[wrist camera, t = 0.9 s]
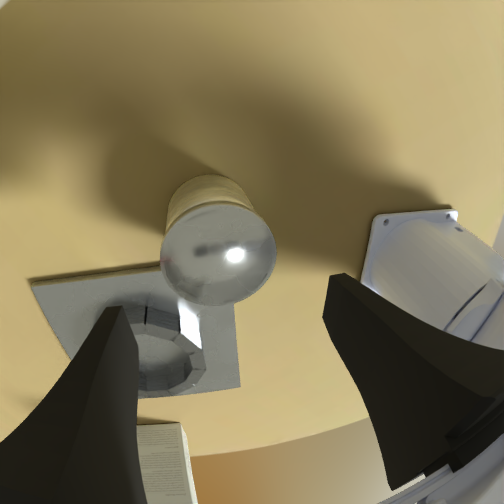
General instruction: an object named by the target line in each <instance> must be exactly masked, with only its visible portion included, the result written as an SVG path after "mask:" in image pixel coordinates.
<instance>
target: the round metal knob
mask: <svg viewBox="0 0 504 504" xmlns="http://www.w3.org/2000/svg"><path fill="white" fill-rule="evenodd" d="M276 255H277V252H276V243H275V240H274V237H273V234H272V233H271V231H270V229H269V227H268V226H267V224H266V222H265V221H264V220H263V218H262V217H261V216H260V215H259V214H258V213H256V211H255V210H254V208H253V206H252V204H251V203H250V201H249V199H248V197H247V196H246V194H245V192H244V191H243V189H242V188H241V187H240V186H239V185H238V184H237V183H235V182H234V181H233V180H231V179H229V178H226V177H224V176H220V175H212V174H210V175H201V176H197V177H194V178H192V179H190V180H188V181H187V182H185V183H184V184H182V185H181V186H180V187H179V188H178V189H177V190H176V191H175V193H174V194H173V196H172V198H171V200H170V203H169V206H168V212H167V222H166V232H165V234H164V237H163V240H162V244H161V251H160V266H161V271H162V274H163V277H164V279H165V281H166V282H167V284H168V285H169V287H170V288H171V289H172V290H173V291H174V292H175V293H176V294H178V295H179V296H180V297H182V298H184V299H185V300H187V301H190V302H192V303H195V304H199V305H204V306H224V305H229V304H233V303H236V302H239V301H241V300H244V299H246V298H247V297H249V296H251V295H252V294H254V293H255V292H256V291H258V290H259V289H260V288H261V287H262V286H263V285H264V284H265V282H266V281H267V280H268V278H269V277H270V275H271V273H272V271H273V268H274V266H275V262H276Z"/></svg>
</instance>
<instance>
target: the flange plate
mask: <svg viewBox="0 0 504 504" xmlns="http://www.w3.org/2000/svg"><path fill="white" fill-rule="evenodd" d="M31 288H32V290H33V292H34V295H35V297H36V299H37V301H38V303H39V305H40V307H41V309H42V310H43V312H44V314H45V316H46V318H47V320H48V322H49V323H50V325H51V327H52V329H53V331H54V332H55V334H56V336H57V338H58V339H59V341H60V343H61V344H62V346H63V348H64V349H65V351H66V352H67V354H68V356H69V357H70V359H71V360H72V359H73V358H74V356H75V355H76V353H77V352H78V350H79V348H80V347H81V345H82V344H83V342H84V341H85V339H86V337H87V336H88V334H89V333H90V331H91V329H92V328H93V326H94V325H95V323H96V322H97V320H98V318H99V317H100V315H101V314H102V312H103V311H104V309H105V308H106V307H111V306H121V305H123V308H124V311H125V313H126V316H127V319H128V321H129V324H130V326H131V329H132V331H133V334H134V336H135V339H136V341H137V344H138V347H139V387H138V399H142V398H157V397H169V396H179V395H188V394H197V393H205V392H212V391H219V390H226V389H232V388H238V387H241V386H240V375H239V364H238V352H237V340H236V328H235V315H234V303H233V304H229V305H224V306H204V305H199V304H195V303H192V302H190V301H187V300H185V299H184V298H182V297H180V296H179V295H178V294H176V293H175V292H174V291H173V290H172V289H171V288H170V287H169V285H168V284H167V282H166V281H165V279H164V277H163V274H162V271H161V266H154V267H147V268H139V269H131V270H123V271H116V272H108V273H100V274H92V275H84V276H76V277H69V278H61V279H53V280H45V281H37V282H34V283H33V284H32V286H31Z"/></svg>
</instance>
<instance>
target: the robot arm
mask: <svg viewBox="0 0 504 504" xmlns="http://www.w3.org/2000/svg"><path fill="white" fill-rule="evenodd" d="M457 216H458V211H457V210H455V209H444V210H430V211H416V212H404V213H392V214H380V215H377V216H376V217H375V218H374V219H373V222H372V228H371V233H370V239H369V244H368V249H367V254H366V258H365V263H364V267H363V272H362V276H361V281H360V282H359V281H357V280H356V279H354V278H352V277H351V276H349V275H347V274H346V273H342V274H336V275H330V277H329V283H328V289H327V295H326V300H325V306H324V311H323V316H322V318H323V320H324V323H325V326H326V328H327V331H328V333H329V336H330V338H331V340H332V342H333V344H334V346H335V348H336V350H337V351H338V353H339V355H340V357H341V359H342V360H343V362H344V364H345V366H346V367H347V369H348V371H349V373H350V375H351V376H352V378H353V380H354V382H355V384H356V385H357V387H358V389H359V391H360V394H361V396H362V398H363V401H364V403H365V406H366V408H367V411H368V413H369V416H370V419H371V421H372V424H373V427H374V430H375V433H376V436H377V440H378V443H379V447H380V450H381V453H382V458H383V461H384V466H385V471H386V475H387V480H388V484H389V486H390V488H391V490H392V491H393V490H395V489H397V488H399V487H401V486H403V485H405V484H407V483H408V482H410V481H412V480H414V479H416V478H417V477H419V476H421V475H423V474H424V475H425V477H426V478H425V479H423V480H421V481H420V482H418V483H416V484H414V485H413V486H411V487H409V488H407V489H405V490H404V491H402V492H400V493H398V494H396V495H394V496H392V497H390V498H388V499H386V500H384V501H382V502H380V503H378V504H415V503H416V502H417V504H504V259H503V258H502V257H501V256H500V255H499V254H498V253H497V252H496V251H495V250H494V249H492V248H491V247H490V246H488V245H487V244H486V243H485V242H483V241H482V240H481V239H479V238H478V237H477V236H475V235H474V234H473V233H471V232H470V231H469V230H467V229H466V228H464V227H463V226H462V225H460V224H459V223H457V222H456V220H457ZM385 220H386V222H385V223H384V221H385ZM138 387H139V347H138V344H137V341H136V339H135V336H134V334H133V331H132V329H131V326H130V324H129V321H128V319H127V316H126V313H125V311H124V308H123V305H121V306H111V307H106V308H105V309H104V311H103V312H102V314H101V315H100V317H99V318H98V320H97V322H96V323H95V325H94V326H93V328H92V329H91V331H90V333H89V334H88V336H87V337H86V339H85V341H84V342H83V344H82V345H81V347H80V348H79V350H78V352H77V353H76V355H75V356H74V358H73V359H72V361H71V362H70V364H69V365H68V366H67V368H66V369H65V371H64V372H63V374H62V375H61V377H60V378H59V379H58V381H57V382H56V383H55V385H54V386H53V387H52V389H51V390H50V391H49V392H48V394H47V395H46V396H45V397H44V399H43V400H42V401H41V402H40V403H39V404H38V406H37V407H36V408H35V409H34V410H33V411H32V412H31V413H30V414H29V416H28V417H27V418H26V419H25V420H24V421H23V422H22V423H21V424H20V425H19V426H18V427H17V428H16V429H15V430H14V431H13V432H12V433H11V434H10V435H8V436H7V437H6V438H5V439H4V440H3V441H2V442H1V443H0V504H148V503H147V499H146V495H145V490H144V485H143V480H142V474H141V468H140V461H139V453H138V444H137V404H138Z"/></svg>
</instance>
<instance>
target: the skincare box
mask: <svg viewBox="0 0 504 504" xmlns="http://www.w3.org/2000/svg"><path fill="white" fill-rule="evenodd" d="M137 444H138V453H139V461H140V468H141V474H142V480H143V485H144V490H145V495H146V499H147V503H148V504H198V503H197V498H196V492H195V487H194V481H193V476H192V470H191V464H190V457H189V451H188V443H187V437H186V434H185V432H184V430H183V428H182V425H181V423H172V424H158V425H137Z"/></svg>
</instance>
